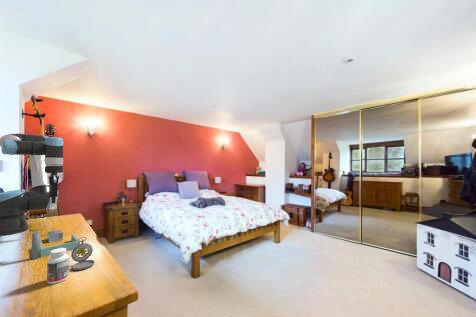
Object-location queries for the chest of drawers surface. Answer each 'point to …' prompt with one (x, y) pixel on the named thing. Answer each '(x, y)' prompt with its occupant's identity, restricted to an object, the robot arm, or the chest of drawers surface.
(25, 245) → the chest of drawers surface
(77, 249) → the pocket watch
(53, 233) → the grey rectangular block
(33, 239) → the keeper
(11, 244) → the chest of drawers surface
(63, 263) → the pill bottle
